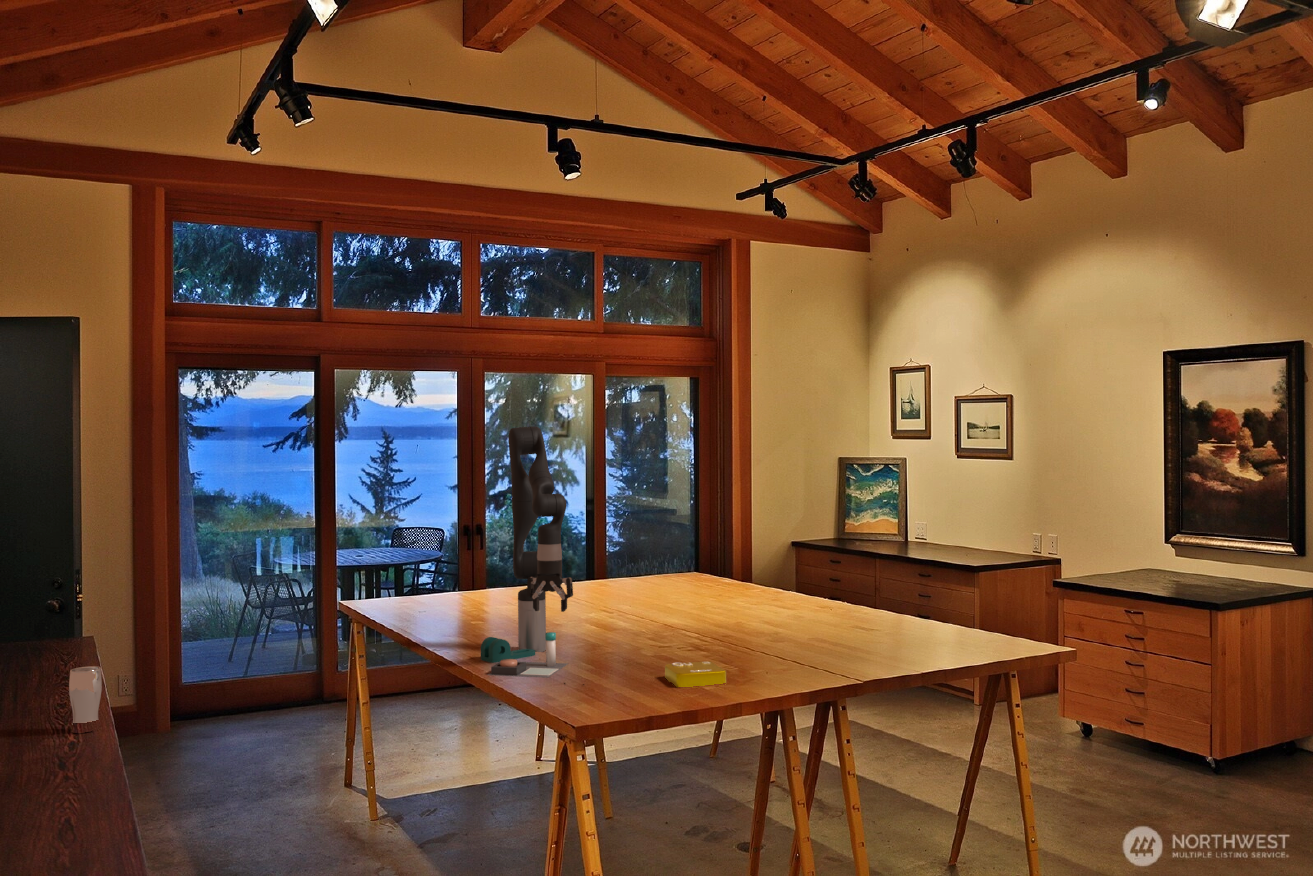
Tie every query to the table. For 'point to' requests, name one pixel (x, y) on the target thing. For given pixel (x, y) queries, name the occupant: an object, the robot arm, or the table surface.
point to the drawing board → (527, 669)
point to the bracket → (501, 651)
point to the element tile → (695, 674)
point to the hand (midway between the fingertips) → (550, 611)
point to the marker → (550, 649)
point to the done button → (508, 663)
